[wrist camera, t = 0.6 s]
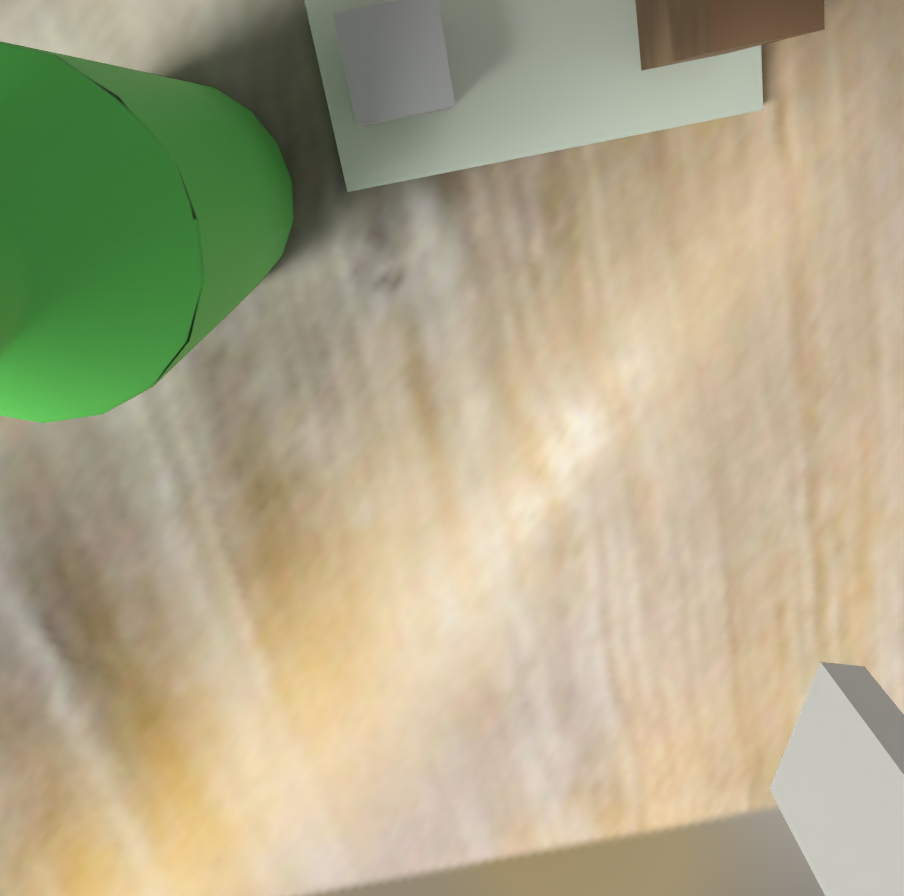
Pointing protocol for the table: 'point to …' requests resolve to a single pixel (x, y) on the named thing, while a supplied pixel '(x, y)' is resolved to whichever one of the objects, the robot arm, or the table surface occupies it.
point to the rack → (502, 82)
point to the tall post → (718, 26)
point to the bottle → (122, 227)
